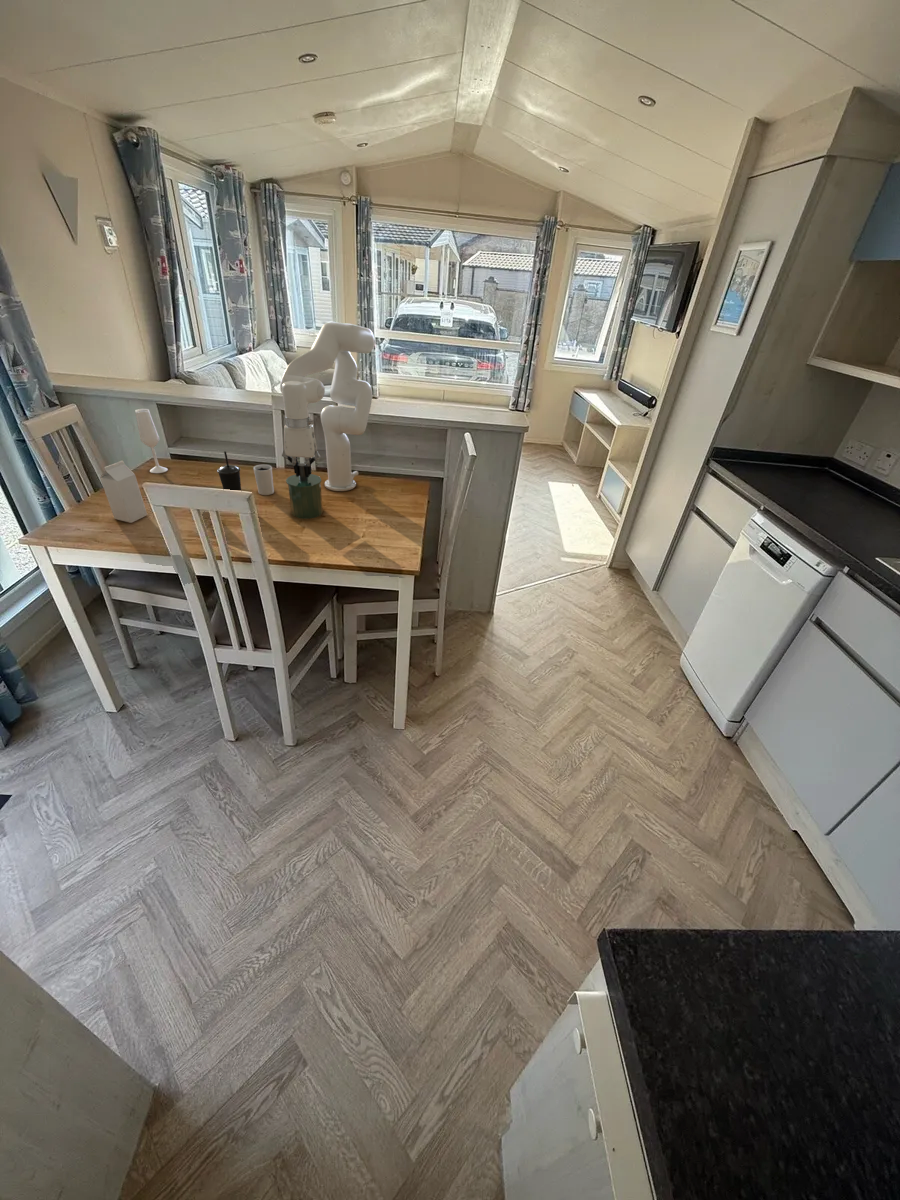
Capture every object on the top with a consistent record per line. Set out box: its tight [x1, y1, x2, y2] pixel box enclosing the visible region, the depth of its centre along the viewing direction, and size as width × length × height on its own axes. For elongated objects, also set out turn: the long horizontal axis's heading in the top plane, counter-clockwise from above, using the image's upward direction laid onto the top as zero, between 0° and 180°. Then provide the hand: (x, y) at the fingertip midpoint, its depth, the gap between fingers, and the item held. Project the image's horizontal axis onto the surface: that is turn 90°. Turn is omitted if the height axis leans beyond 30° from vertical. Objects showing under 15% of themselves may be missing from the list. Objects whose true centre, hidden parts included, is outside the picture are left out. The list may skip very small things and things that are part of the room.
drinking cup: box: [216, 451, 242, 491], centre depth 181 cm, size 8×8×20 cm
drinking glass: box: [252, 464, 275, 496], centre depth 195 cm, size 7×7×10 cm
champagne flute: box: [134, 408, 169, 474], centre depth 201 cm, size 7×7×24 cm
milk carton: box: [99, 460, 148, 524], centre depth 168 cm, size 7×7×19 cm
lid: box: [285, 462, 322, 488], centre depth 176 cm, size 12×12×7 cm
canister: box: [287, 483, 324, 520], centre depth 181 cm, size 11×11×12 cm
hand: (303, 475), depth 176 cm, fingers closed on lid, 2 cm apart
